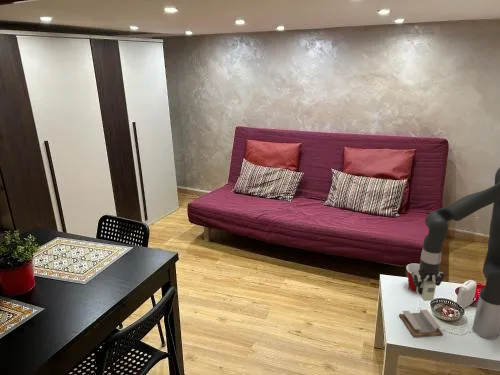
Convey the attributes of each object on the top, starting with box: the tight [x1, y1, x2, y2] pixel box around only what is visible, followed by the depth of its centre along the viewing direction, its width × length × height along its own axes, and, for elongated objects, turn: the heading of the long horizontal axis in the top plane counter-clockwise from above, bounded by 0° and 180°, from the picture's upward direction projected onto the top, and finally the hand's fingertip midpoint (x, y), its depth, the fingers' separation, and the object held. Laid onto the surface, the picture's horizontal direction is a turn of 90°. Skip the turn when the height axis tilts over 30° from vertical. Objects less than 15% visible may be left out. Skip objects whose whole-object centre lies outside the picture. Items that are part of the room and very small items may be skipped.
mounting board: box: [398, 312, 444, 338], centre depth 164 cm, size 13×14×1 cm
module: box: [417, 276, 436, 302], centre depth 157 cm, size 4×8×8 cm, turn 3°
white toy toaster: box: [455, 279, 478, 309], centre depth 175 cm, size 10×4×12 cm, turn 123°
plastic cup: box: [405, 262, 420, 293], centre depth 188 cm, size 11×11×12 cm
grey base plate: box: [402, 309, 442, 333], centre depth 163 cm, size 12×12×2 cm
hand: (425, 293), depth 158 cm, fingers closed on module, 4 cm apart
